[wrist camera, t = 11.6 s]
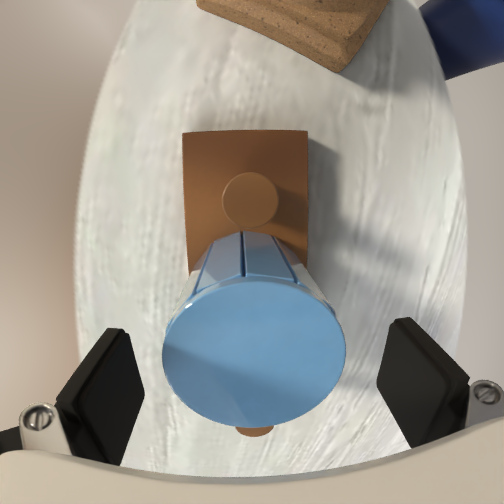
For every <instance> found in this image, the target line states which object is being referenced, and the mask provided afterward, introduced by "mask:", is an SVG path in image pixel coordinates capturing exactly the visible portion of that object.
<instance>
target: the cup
mask: <svg viewBox="0 0 504 504" xmlns="http://www.w3.org/2000/svg"><path fill="white" fill-rule="evenodd" d="M345 358H346V342H345V337H344V333H343V330H342V328H341V325H340V324H339V322H338V320H337V317H336V314H335V311H334V309H333V308H332V306H331V305H330V303H329V302H328V300H327V299H326V297H325V296H324V295H323V293H322V292H321V290H320V289H319V287H318V286H317V284H316V283H315V281H314V280H313V279H312V277H311V276H310V274H309V273H308V271H307V270H306V268H305V267H304V266H303V264H302V263H301V261H300V260H299V258H298V257H297V256H296V254H295V253H294V252H293V251H292V250H291V249H290V248H288V247H287V246H286V245H285V244H283V243H282V242H281V241H280V240H278V239H277V238H276V237H275V236H273V237H272V236H271V235H270V234H264V233H257V232H250V231H243V234H241V232H240V231H238V232H236V233H233V234H231V235H228V236H226V237H223V238H220V239H218V240H215V241H214V243H213V244H212V243H211V244H210V245H209V247H208V248H207V249H206V251H205V252H204V253H203V254H202V256H201V257H200V258H199V260H198V261H197V262H196V264H195V266H194V268H193V270H192V272H191V274H190V276H189V278H188V281H187V283H186V285H185V287H184V289H183V291H182V293H181V296H180V298H179V300H178V302H177V304H176V307H175V309H174V311H173V313H172V315H171V318H170V320H169V322H168V326H167V328H166V335H165V339H164V343H163V348H162V363H163V368H164V372H165V376H166V378H167V380H168V383H169V385H170V386H171V388H172V390H173V391H174V393H175V394H176V395H177V396H178V398H179V399H180V400H181V401H182V402H183V403H184V404H185V405H187V406H188V407H189V408H190V409H192V410H193V411H195V412H196V413H198V414H200V415H201V416H203V417H205V418H207V419H210V420H212V421H215V422H218V423H221V424H225V425H229V426H235V427H245V428H257V427H267V426H273V425H277V424H281V423H285V422H288V421H290V420H293V419H295V418H297V417H300V416H302V415H304V414H305V413H307V412H309V411H310V410H312V409H313V408H314V407H316V406H317V405H318V404H320V403H321V402H322V401H323V400H324V399H325V398H326V397H327V396H328V395H329V393H330V392H331V391H332V390H333V388H334V387H335V385H336V384H337V382H338V380H339V378H340V376H341V374H342V371H343V368H344V364H345Z"/></svg>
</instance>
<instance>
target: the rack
mask: <svg viewBox="0 0 504 504" xmlns="http://www.w3.org/2000/svg"><path fill="white" fill-rule="evenodd" d="M182 152H183V188H184V210H185V228H186V243H187V257H188V269H189V276H190V274H191V272H192V270H193V268H194V266H195V264H196V262H197V261H198V260H199V258H200V257H201V256H202V254H203V253H204V252H205V251H206V249H207V248H208V247H209V245H210V244H211V243H212V244H213V243H214V241H215V240H218V239H220V238H223V237H226V236H228V235H231V234H233V233H236V232H238V231H240V232H241V234H243V231H250V232H257V233H264V234H270V235H271V236H272V237H273V236H275V237H276V238H277V239H278V240H280V241H281V242H282V243H283V244H285V245H286V246H287V247H288V248H290V249H291V250H292V251H293V252H294V253H295V254H296V256H297V257H298V258H299V260H300V261H301V263H302V264H303V266H304V267H305V268H306V270H307V245H308V132H307V131H297V130H226V131H205V132H190V133H183V134H182ZM273 427H274V425H273V426H267V427H257V428H245V427H236V429H237V431H238V432H239V433H241V434H243V435H245V436H250V437H258V436H262V435H265V434H267V433H269V432H270V431H271V430H272V429H273Z"/></svg>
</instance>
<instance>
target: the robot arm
mask: <svg viewBox="0 0 504 504" xmlns="http://www.w3.org/2000/svg"><path fill="white" fill-rule="evenodd" d="M469 379H470V377H469V376H468V375H467V374H466V373H465V372H464V370H463V369H462V368H461V367H460V366H458V364H457V363H456V362H455V361H454V360H453V359H452V358H451V357H450V356H449V355H448V354H447V353H446V352H445V351H444V350H443V349H442V348H441V347H440V346H439V345H438V344H437V343H436V342H435V341H434V340H433V339H432V338H431V337H430V336H429V335H428V334H427V333H426V332H425V331H424V330H423V329H422V328H421V327H420V326H419V325H418V324H417V323H416V322H415V321H414V320H413V319H412V318H410V317H405V318H398V319H395V320H394V322H393V323H392V324H391V325H390V327H389V332H388V336H387V341H386V345H385V349H384V353H383V357H382V361H381V365H380V369H379V373H378V376H377V381H376V383H377V388H378V390H379V392H380V393H381V395H382V397H383V399H384V400H385V402H386V404H387V406H388V407H389V409H390V411H391V413H392V415H393V416H394V418H395V420H396V422H397V424H398V425H399V427H400V429H401V431H402V433H403V435H404V436H405V438H406V440H407V442H408V444H409V446H410V447H411V448H412V449H409V450H406V451H403V452H400V453H397V454H393V455H390V456H386V457H383V458H379V459H375V460H371V461H367V462H363V463H358V464H354V465H349V466H344V467H339V468H333V469H328V470H321V471H315V472H307V473H299V474H290V475H279V476H264V477H201V476H186V475H175V474H166V473H158V472H151V471H144V470H138V469H132V468H126V467H121V466H120V464H121V462H122V459H123V456H124V453H125V450H126V447H127V444H128V441H129V438H130V436H131V433H132V430H133V427H134V425H135V422H136V419H137V416H138V414H139V411H140V408H141V406H142V403H143V400H144V396H145V392H144V387H143V384H142V381H141V377H140V374H139V370H138V367H137V363H136V359H135V355H134V351H133V348H132V343H131V339H130V336H129V334H128V333H125V331H124V330H123V329H118V328H107V329H106V331H105V332H104V333H103V334H102V336H101V337H100V338H99V340H98V341H97V342H96V344H95V345H94V346H93V348H92V349H91V350H90V352H89V353H88V354H87V356H86V357H85V358H84V360H83V361H82V362H81V364H80V365H79V367H78V368H77V369H76V371H75V372H74V373H73V375H72V376H71V378H70V379H69V380H68V382H67V383H66V385H65V386H64V388H63V389H62V391H61V392H60V394H59V395H58V396H57V398H56V401H57V402H56V404H55V405H54V406H53V405H51V404H49V403H45V402H39V403H34V404H31V405H29V406H28V407H26V408H25V409H24V410H23V411H22V413H21V415H20V417H19V426H17V427H14V428H11V429H8V430H4V431H1V432H0V504H504V391H503V390H502V388H501V387H500V386H499V385H498V384H496V383H494V382H492V381H489V380H478V381H476V382H474V383H473V384H472V385H471V386H469V385H468V381H469Z"/></svg>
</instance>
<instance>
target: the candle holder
mask: <svg viewBox="0 0 504 504" xmlns="http://www.w3.org/2000/svg"><path fill="white" fill-rule="evenodd" d="M388 1H389V0H196V3H197V6H198V7H199V8H200V9H202V10H205V11H207V12H210V13H212V14H215V15H217V16H220V17H222V18H225V19H228V20H230V21H233V22H235V23H238V24H240V25H243V26H245V27H247V28H250V29H252V30H254V31H256V32H259V33H261V34H263V35H265V36H267V37H269V38H271V39H273V40H275V41H277V42H279V43H281V44H283V45H285V46H287V47H289V48H291V49H293V50H295V51H297V52H299V53H300V54H302V55H304V56H306V57H308V58H309V59H311V60H313V61H315V62H316V63H318V64H320V65H322V66H324V67H326V68H327V69H329V70H331V71H333V72H337V73H339V72H340V71H342V70H343V69H344V68H345V67H346V66H347V65H348V64H349V63H350V61H351V60H352V58H353V57H354V55H355V54H356V53H357V51H358V50H359V49H360V47H361V46H362V44H363V42H364V41H365V39H366V37H367V36H368V34H369V32H370V31H371V29H372V27H373V26H374V24H375V23H376V21H377V19H378V18H379V16H380V14H381V13H382V11H383V9H384V8H385V6H386V5H387V3H388Z"/></svg>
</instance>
